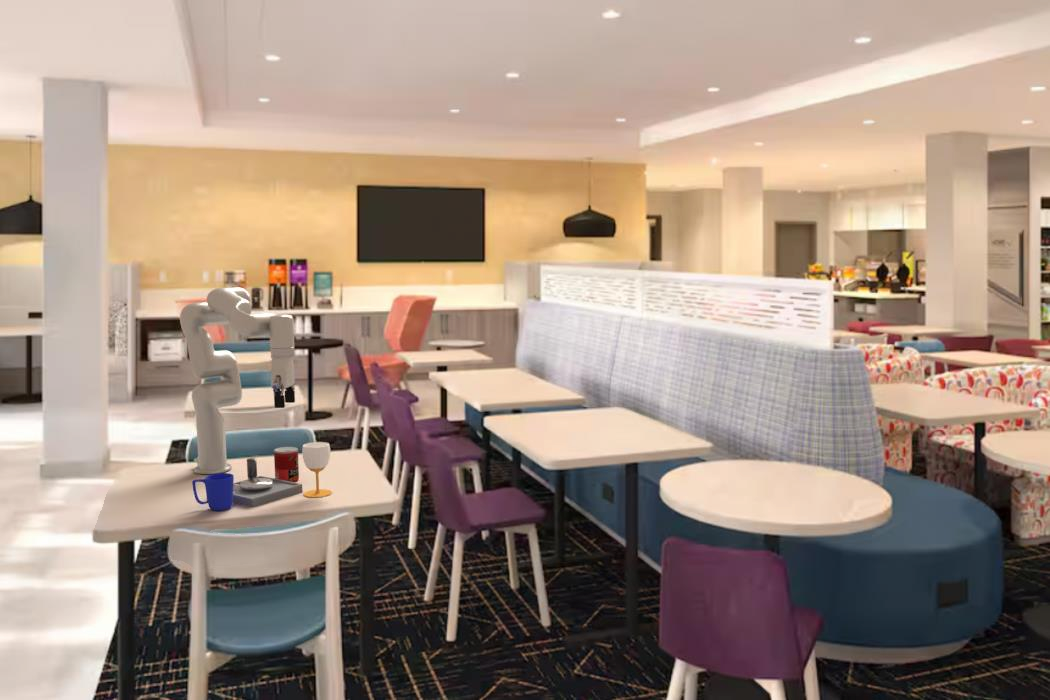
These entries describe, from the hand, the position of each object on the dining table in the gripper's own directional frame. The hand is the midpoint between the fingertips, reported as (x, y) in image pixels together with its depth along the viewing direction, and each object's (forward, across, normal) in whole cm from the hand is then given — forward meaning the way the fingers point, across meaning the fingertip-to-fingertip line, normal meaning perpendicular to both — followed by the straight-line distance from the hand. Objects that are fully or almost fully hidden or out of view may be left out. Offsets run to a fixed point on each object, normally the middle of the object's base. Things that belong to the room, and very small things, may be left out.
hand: (284, 405), depth 288 cm
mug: (+28, +23, -15) cm, 39 cm away
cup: (+28, +6, +12) cm, 31 cm away
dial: (+25, +6, -9) cm, 27 cm away
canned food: (+28, -10, -4) cm, 30 cm away
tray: (+28, +8, -8) cm, 30 cm away
